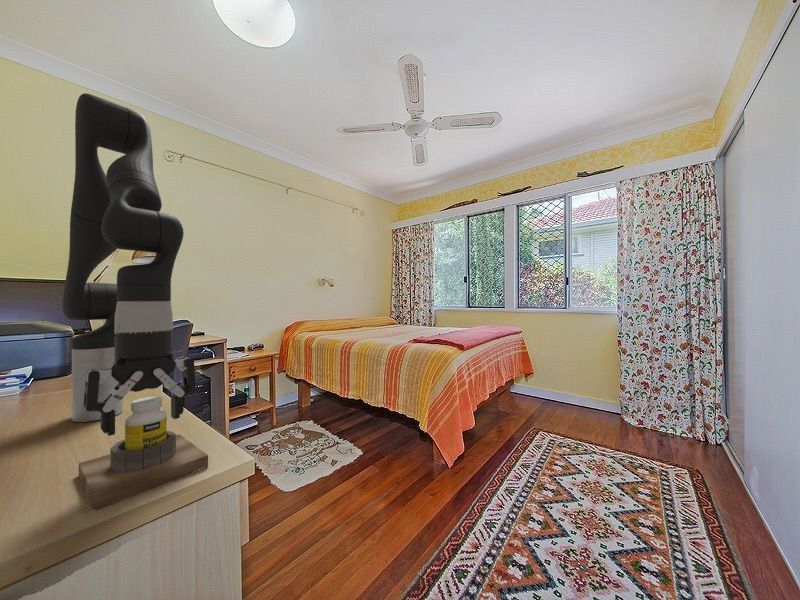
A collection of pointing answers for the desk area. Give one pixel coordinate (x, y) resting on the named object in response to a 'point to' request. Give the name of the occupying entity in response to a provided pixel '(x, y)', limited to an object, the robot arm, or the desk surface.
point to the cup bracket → (138, 469)
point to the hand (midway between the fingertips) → (144, 425)
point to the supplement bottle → (145, 424)
